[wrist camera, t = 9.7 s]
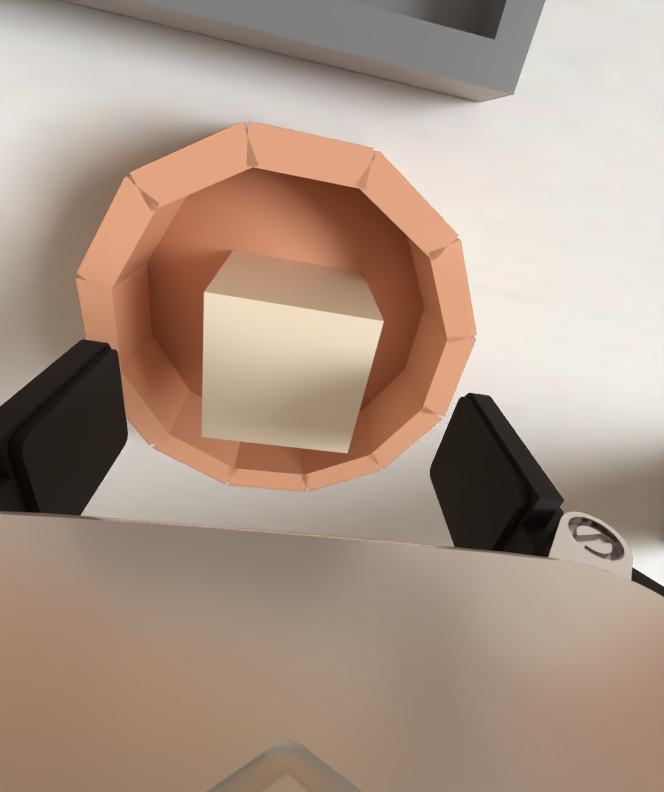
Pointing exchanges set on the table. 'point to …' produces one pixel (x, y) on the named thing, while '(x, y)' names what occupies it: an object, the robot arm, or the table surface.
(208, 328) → the cream beige cube
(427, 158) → the table surface
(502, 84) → the parts tray
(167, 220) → the bowl
